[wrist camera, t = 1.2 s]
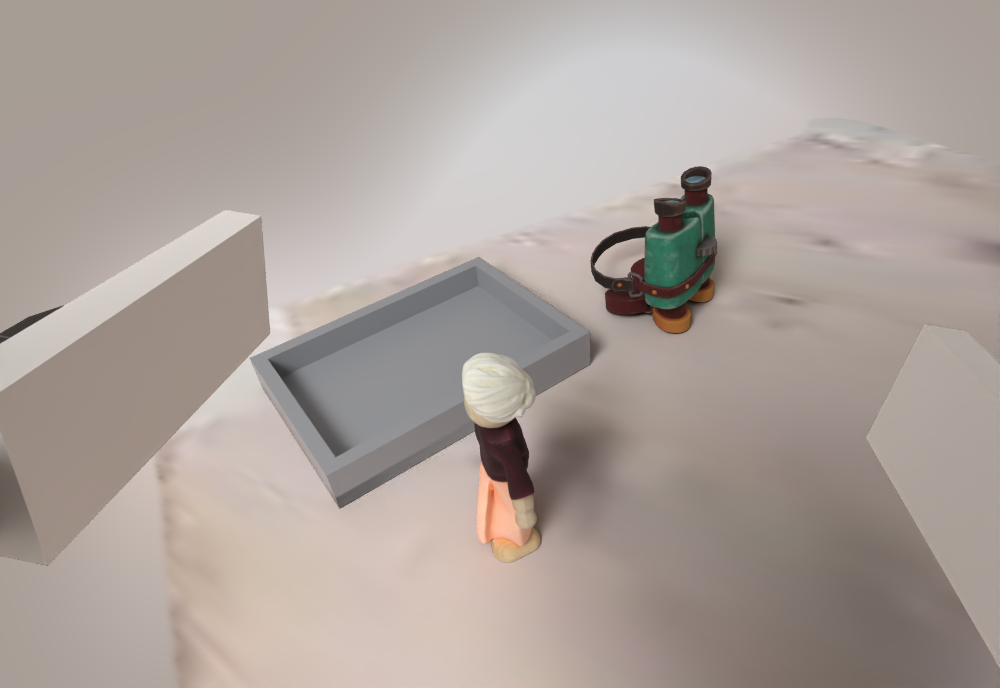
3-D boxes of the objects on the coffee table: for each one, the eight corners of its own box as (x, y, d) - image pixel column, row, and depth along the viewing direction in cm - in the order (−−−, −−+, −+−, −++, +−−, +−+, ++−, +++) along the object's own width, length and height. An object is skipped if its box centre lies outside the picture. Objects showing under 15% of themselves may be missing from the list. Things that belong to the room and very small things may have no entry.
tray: (482, 286, 56) (478, 256, 54) (590, 364, 46) (590, 331, 45) (263, 388, 48) (249, 358, 46) (339, 508, 38) (326, 476, 36)
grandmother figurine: (454, 499, 38) (418, 331, 30) (512, 474, 39) (491, 306, 31) (510, 606, 32) (484, 435, 25) (576, 574, 33) (570, 400, 26)
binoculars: (616, 154, 52) (740, 162, 46) (624, 267, 57) (735, 288, 52) (557, 199, 46) (689, 215, 40) (573, 319, 52) (690, 348, 46)
